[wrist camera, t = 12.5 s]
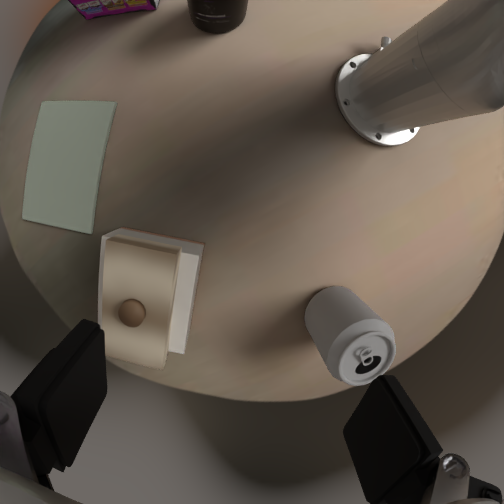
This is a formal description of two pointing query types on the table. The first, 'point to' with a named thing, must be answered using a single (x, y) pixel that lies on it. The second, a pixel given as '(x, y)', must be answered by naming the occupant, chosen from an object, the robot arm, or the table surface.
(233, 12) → the supplement bottle
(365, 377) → the can
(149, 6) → the candy bar box
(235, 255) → the table surface
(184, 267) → the gray block
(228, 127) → the table surface
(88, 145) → the mat
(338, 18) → the table surface
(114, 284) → the lid
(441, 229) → the table surface
